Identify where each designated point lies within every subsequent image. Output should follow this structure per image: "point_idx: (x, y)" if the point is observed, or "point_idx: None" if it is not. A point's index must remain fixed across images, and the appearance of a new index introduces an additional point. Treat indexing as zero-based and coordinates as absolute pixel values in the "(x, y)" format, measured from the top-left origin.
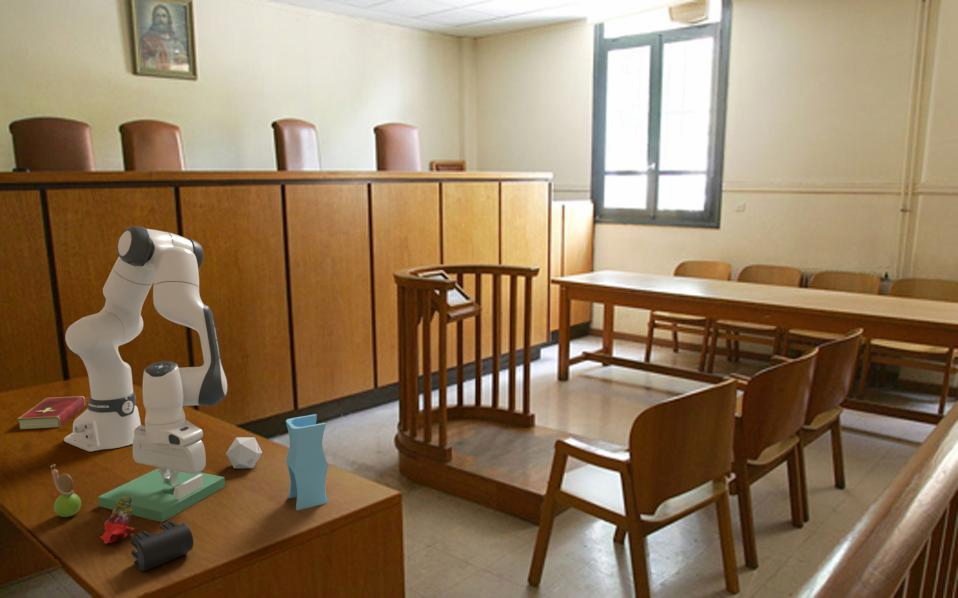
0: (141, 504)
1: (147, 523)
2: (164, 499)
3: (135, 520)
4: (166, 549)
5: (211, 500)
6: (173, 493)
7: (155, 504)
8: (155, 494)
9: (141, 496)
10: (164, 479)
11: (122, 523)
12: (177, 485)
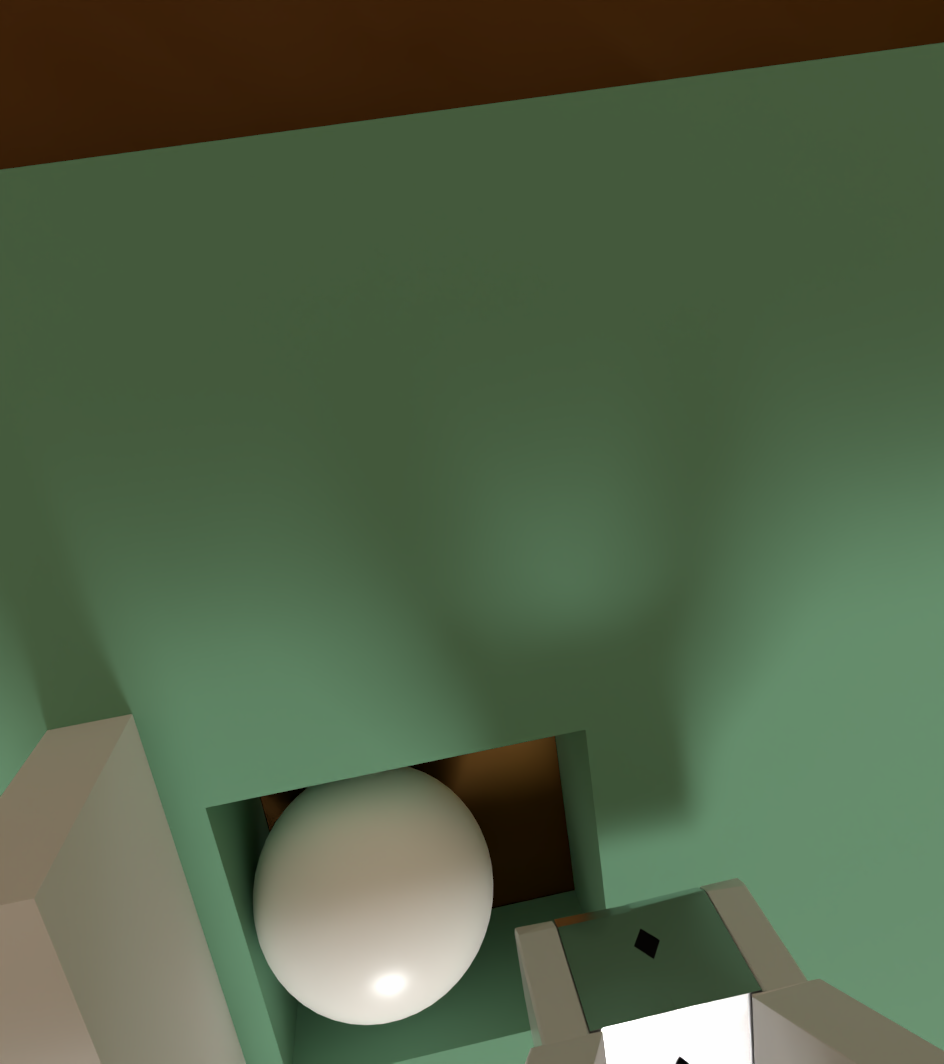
0: (499, 209)
1: (73, 49)
2: (304, 600)
3: (373, 10)
4: None
5: None
6: (431, 817)
7: (243, 373)
8: (636, 620)
9: (801, 433)
10: (739, 962)
11: None
12: None
